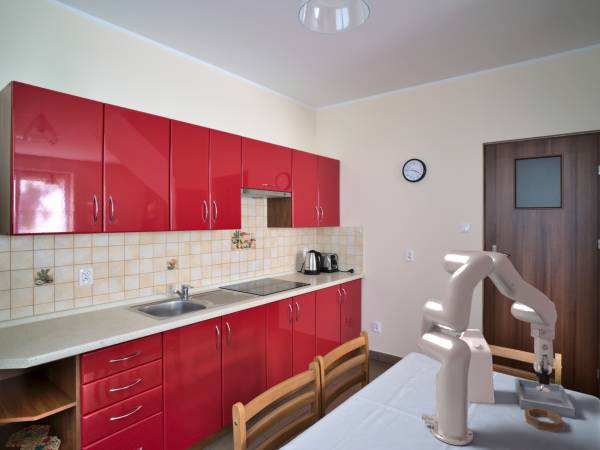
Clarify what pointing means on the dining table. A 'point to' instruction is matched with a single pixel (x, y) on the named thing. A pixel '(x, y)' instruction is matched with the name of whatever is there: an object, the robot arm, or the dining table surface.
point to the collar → (543, 425)
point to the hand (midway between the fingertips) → (542, 380)
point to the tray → (544, 397)
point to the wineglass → (537, 369)
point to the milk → (479, 368)
